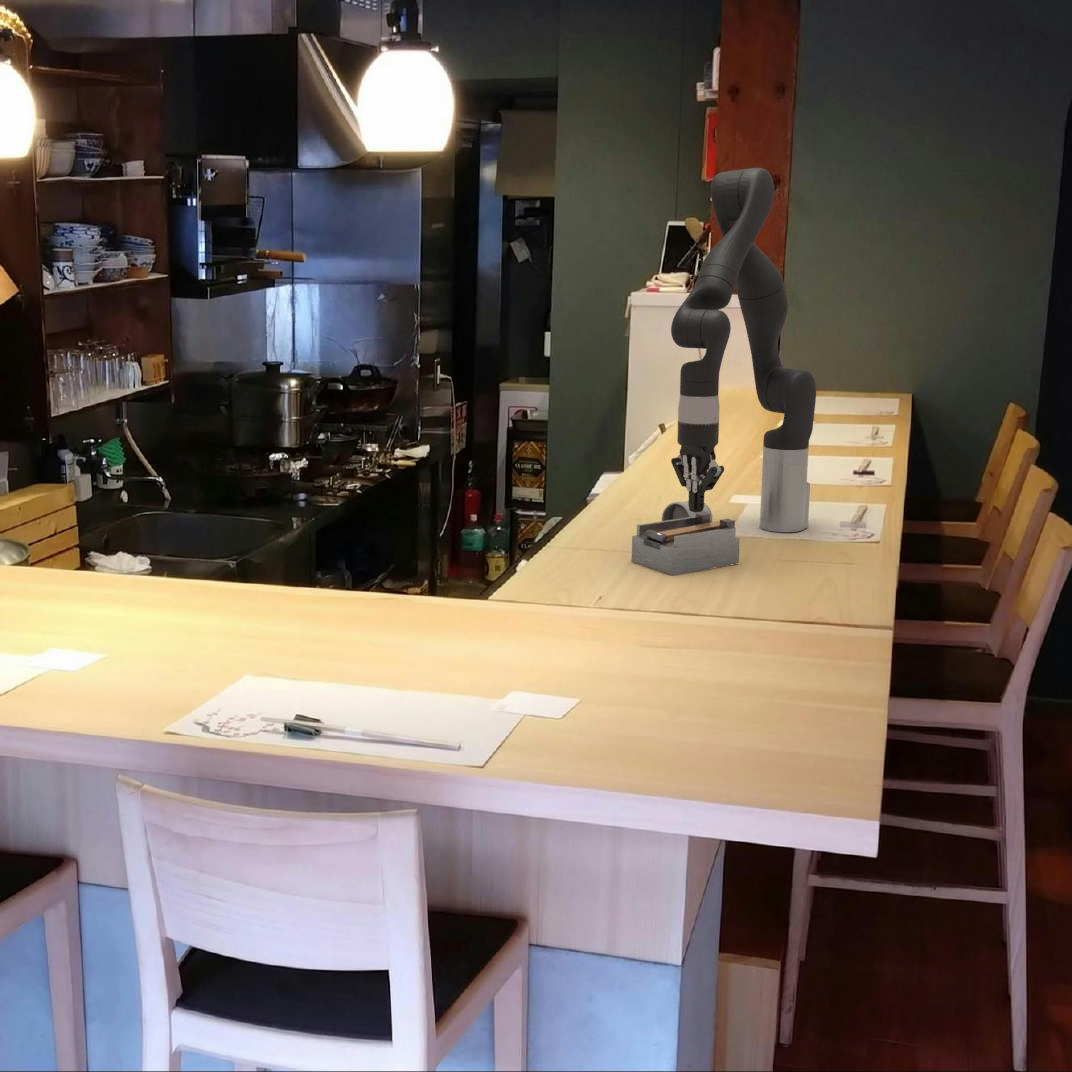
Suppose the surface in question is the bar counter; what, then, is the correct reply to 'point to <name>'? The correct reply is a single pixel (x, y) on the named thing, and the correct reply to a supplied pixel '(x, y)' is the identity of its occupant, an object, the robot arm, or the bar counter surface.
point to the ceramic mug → (681, 511)
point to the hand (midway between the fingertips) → (695, 511)
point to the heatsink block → (686, 546)
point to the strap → (681, 531)
